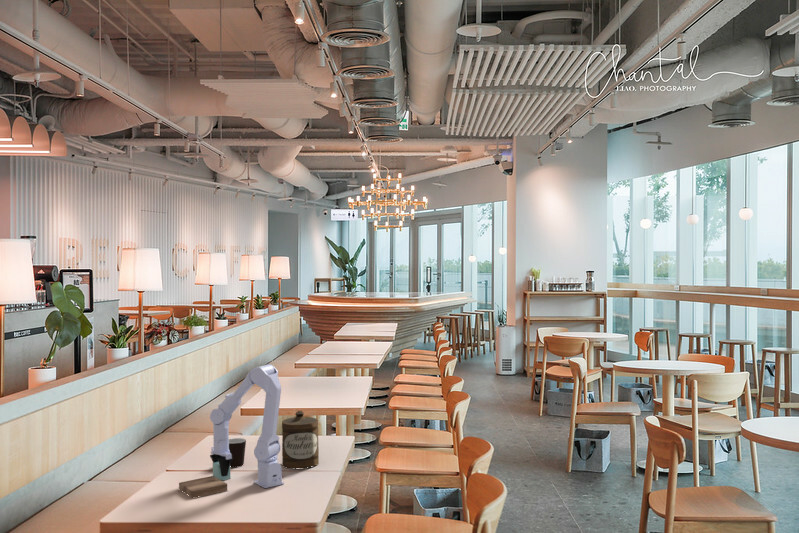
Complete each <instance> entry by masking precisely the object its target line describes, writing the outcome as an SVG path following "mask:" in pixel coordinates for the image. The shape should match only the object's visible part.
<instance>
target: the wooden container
mask: <svg viewBox="0 0 799 533" xmlns="http://www.w3.org/2000/svg"><path fill="white" fill-rule="evenodd" d="M294 415H295V417H289V418H286V419H284V420H282V421H281V428H282V434H281V436H282V438H281V439H282V444H281V448H282V449H281V455H282V457H281V458H282V459H281V463H282V464H283V465H282V467H283V466H284V467H283V468H285V467H287V468H286V469H288V468H295V469H294V470H297V469H296V468H307V467H311V466H314V465H316V466H318V465H319V461H320V460H319V457H320V456H319V430H318V423H319V422H318V421H319V420H318V418H315V417H313V416H312V417H311V416H304V415H305V413H304V411H302V410H297V411H296V412H295V414H294ZM317 464H318V465H317ZM314 467H315V466H314ZM307 469H308V468H307Z"/></svg>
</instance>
